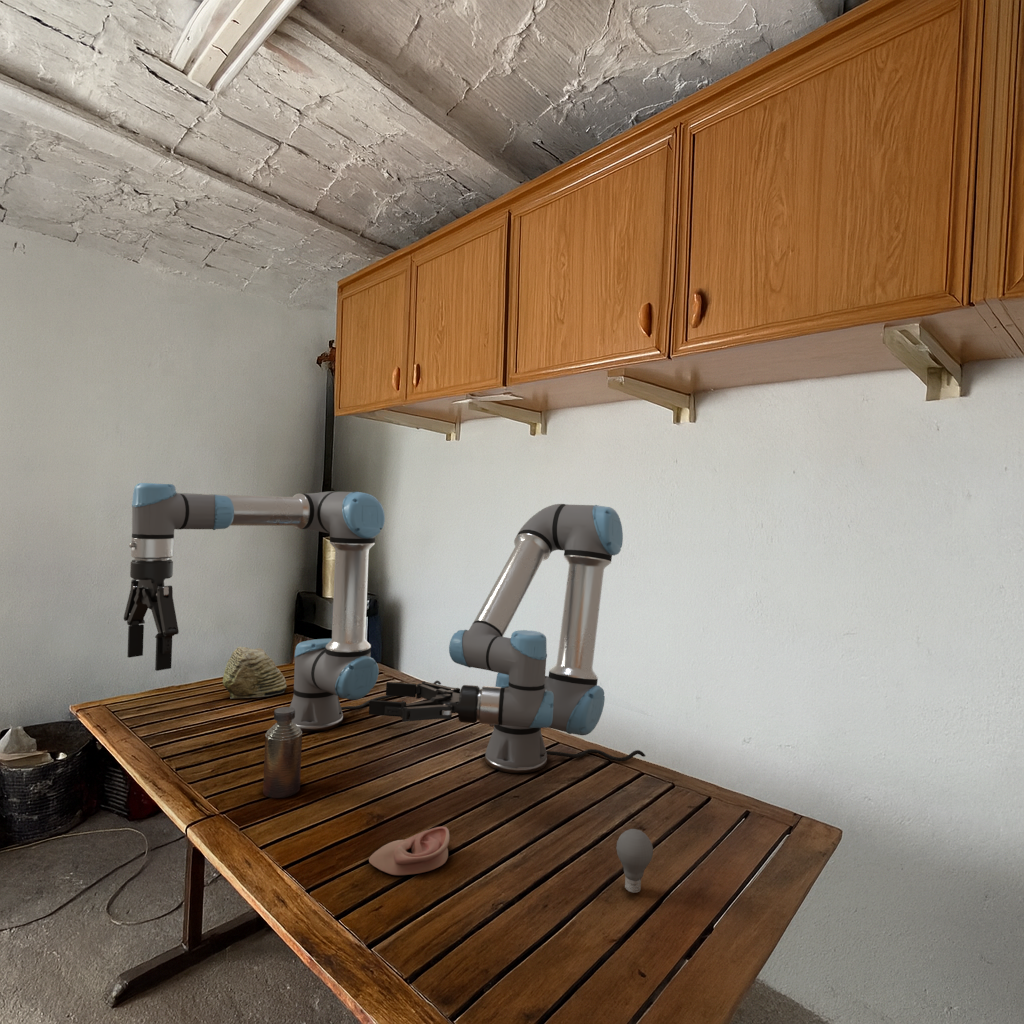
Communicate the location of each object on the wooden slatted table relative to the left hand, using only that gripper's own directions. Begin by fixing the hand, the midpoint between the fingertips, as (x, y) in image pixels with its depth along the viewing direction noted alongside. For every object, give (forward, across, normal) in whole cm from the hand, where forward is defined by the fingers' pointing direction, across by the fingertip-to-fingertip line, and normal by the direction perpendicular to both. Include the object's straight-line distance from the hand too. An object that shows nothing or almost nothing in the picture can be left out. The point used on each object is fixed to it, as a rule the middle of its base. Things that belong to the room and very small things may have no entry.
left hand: (148, 662), depth 129 cm
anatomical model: (+28, +56, +22) cm, 66 cm away
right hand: (+6, +34, +32) cm, 47 cm away
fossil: (+28, -47, +50) cm, 74 cm away
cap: (+11, +16, +21) cm, 29 cm away
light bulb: (+28, +90, +41) cm, 103 cm away
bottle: (+28, +16, +21) cm, 39 cm away
